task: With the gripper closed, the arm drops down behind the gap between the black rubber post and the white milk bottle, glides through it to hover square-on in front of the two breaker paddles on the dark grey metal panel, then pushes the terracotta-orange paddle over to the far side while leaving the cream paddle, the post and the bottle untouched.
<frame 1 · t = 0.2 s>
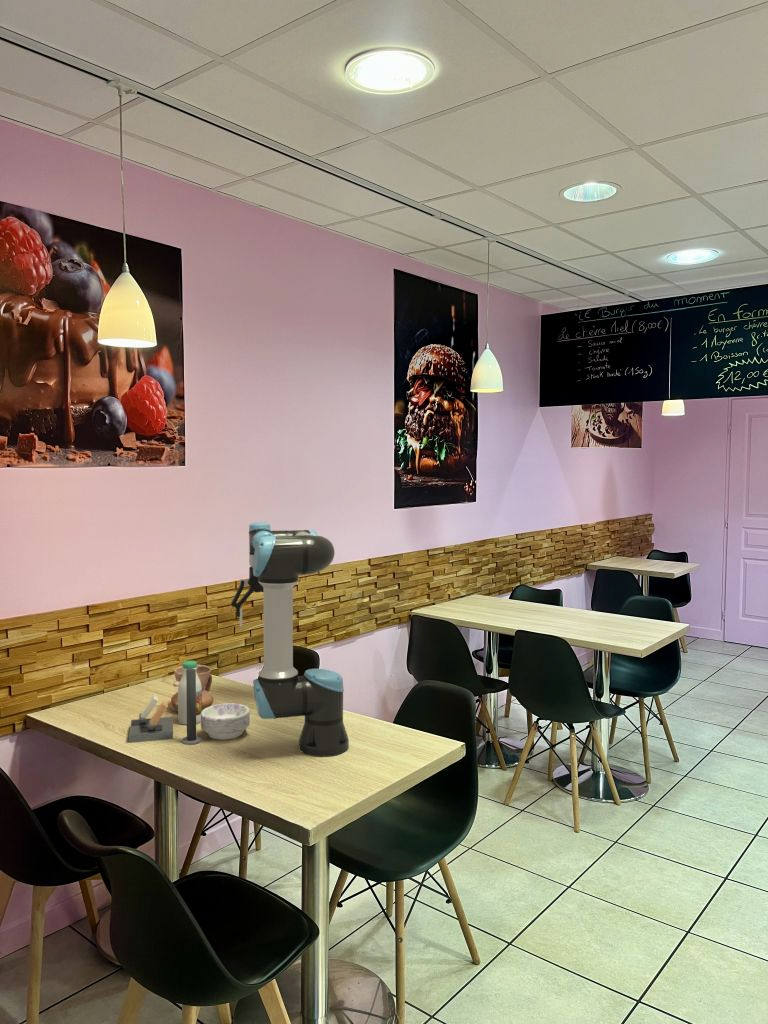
hand: (260, 625, 271), 28 cm above the table, fingers open, 13 cm apart
panel: (151, 732, 241), on the table
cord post: (191, 741, 234), on the table
milk bottle: (190, 722, 252), on the table
paddle b: (148, 709, 244), point 6 cm above the table, hinge at 35.0°
paddle a: (157, 715, 238), point 6 cm above the table, hinge at 35.0°
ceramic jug: (193, 708, 265), on the table
paper bowls: (225, 735, 240), on the table
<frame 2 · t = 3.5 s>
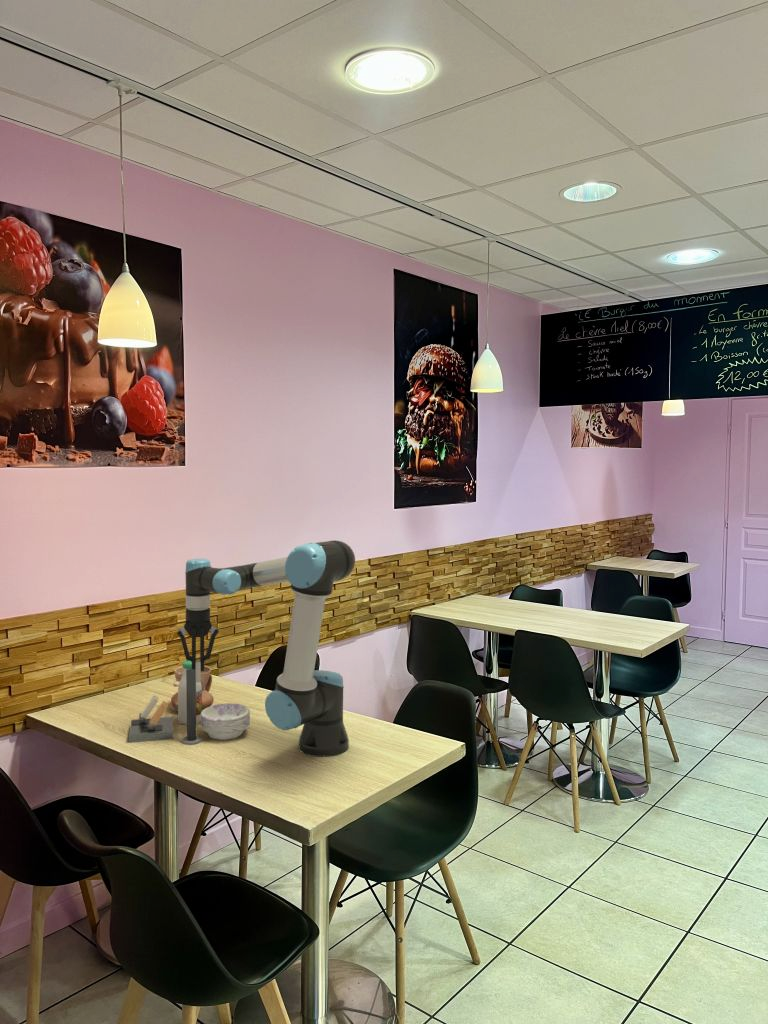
hand: (197, 681, 241), 16 cm above the table, fingers closed
nothing on the table moved.
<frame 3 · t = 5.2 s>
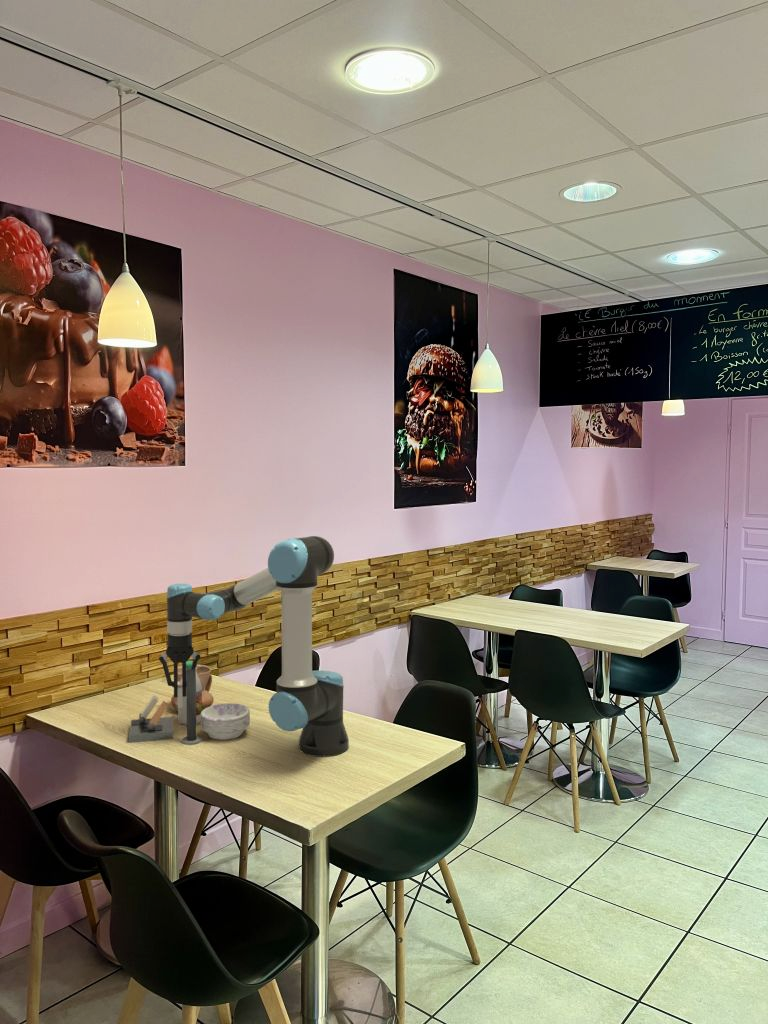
hand: (180, 706, 240), 9 cm above the table, fingers closed
nothing on the table moved.
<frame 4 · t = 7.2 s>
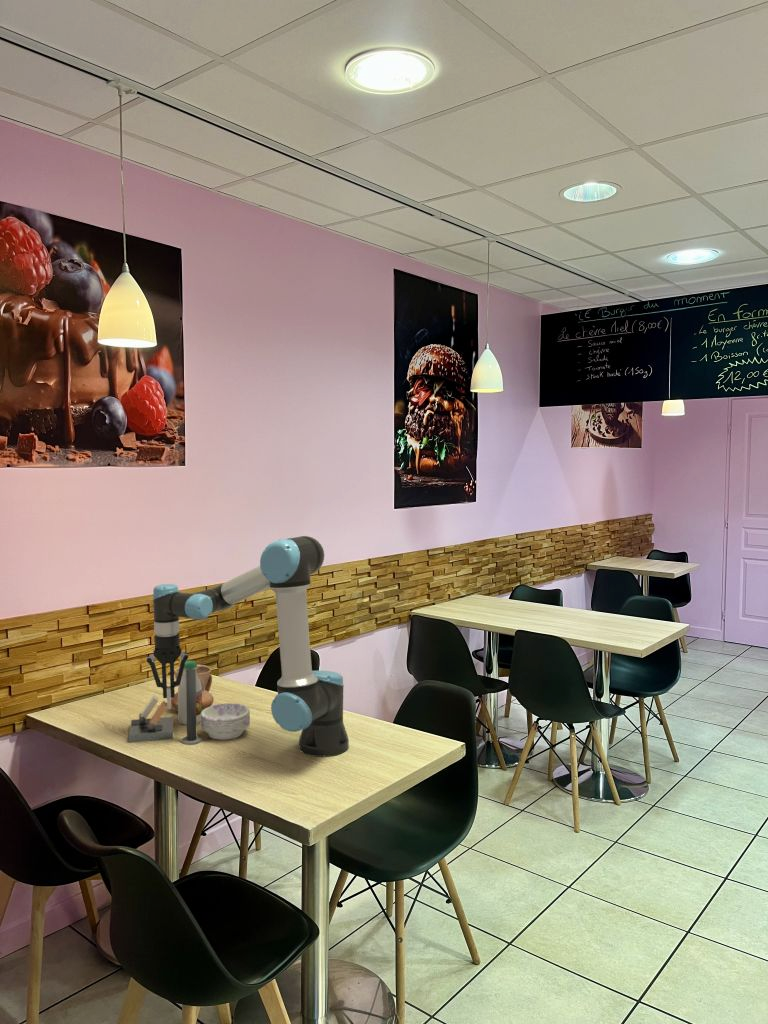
hand: (169, 707, 239), 9 cm above the table, fingers closed
paddle a: (157, 715, 238), point 6 cm above the table, hinge at 34.3°, touching gripper
everything else where it was.
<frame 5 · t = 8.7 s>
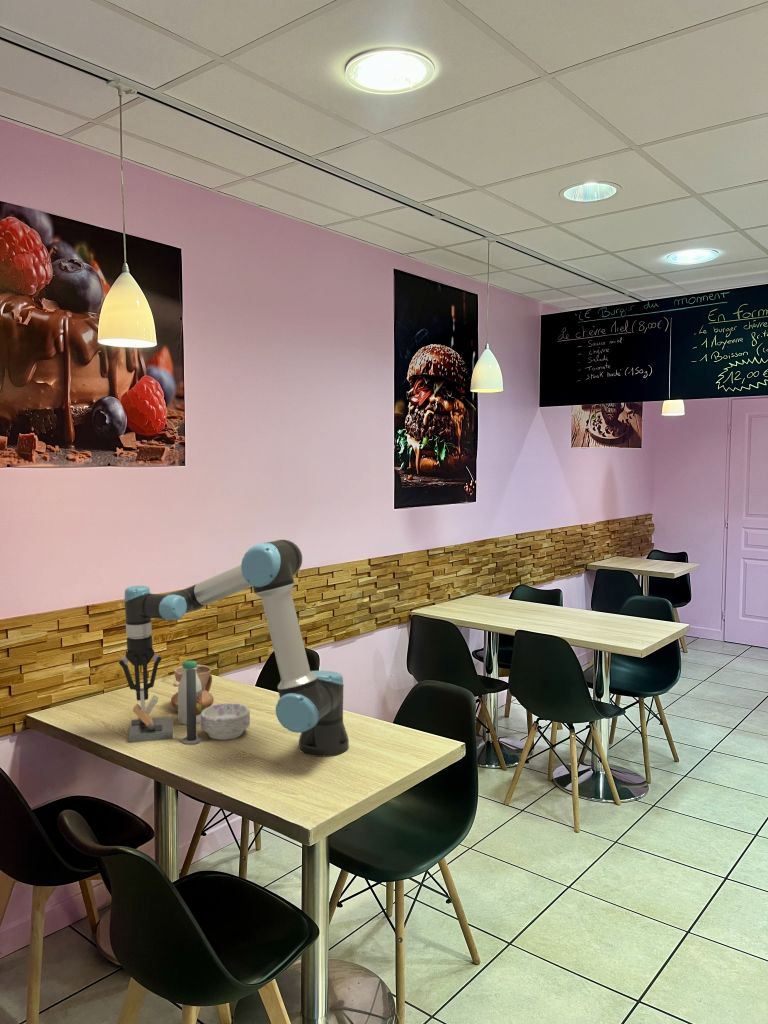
hand: (143, 709, 237), 8 cm above the table, fingers closed
paddle a: (144, 717, 237), point 6 cm above the table, hinge at -39.3°, touching gripper
everything else where it was.
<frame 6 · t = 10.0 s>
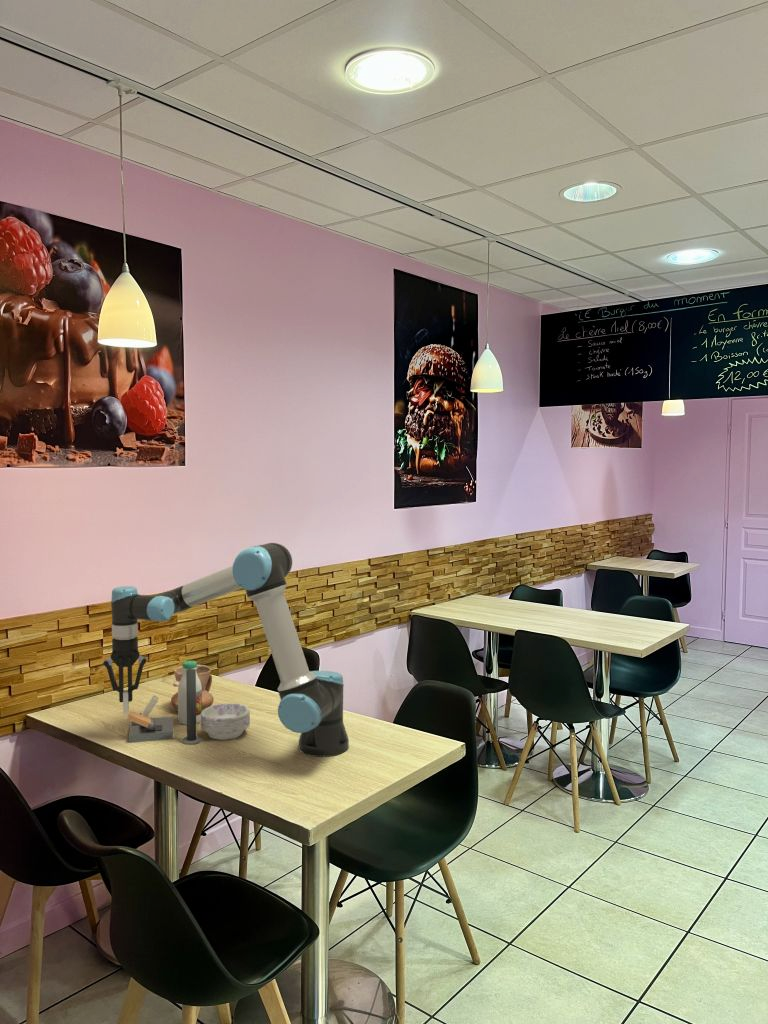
hand: (126, 711, 235), 8 cm above the table, fingers closed
paddle a: (141, 720, 237), point 5 cm above the table, hinge at -62.3°
everything else where it was.
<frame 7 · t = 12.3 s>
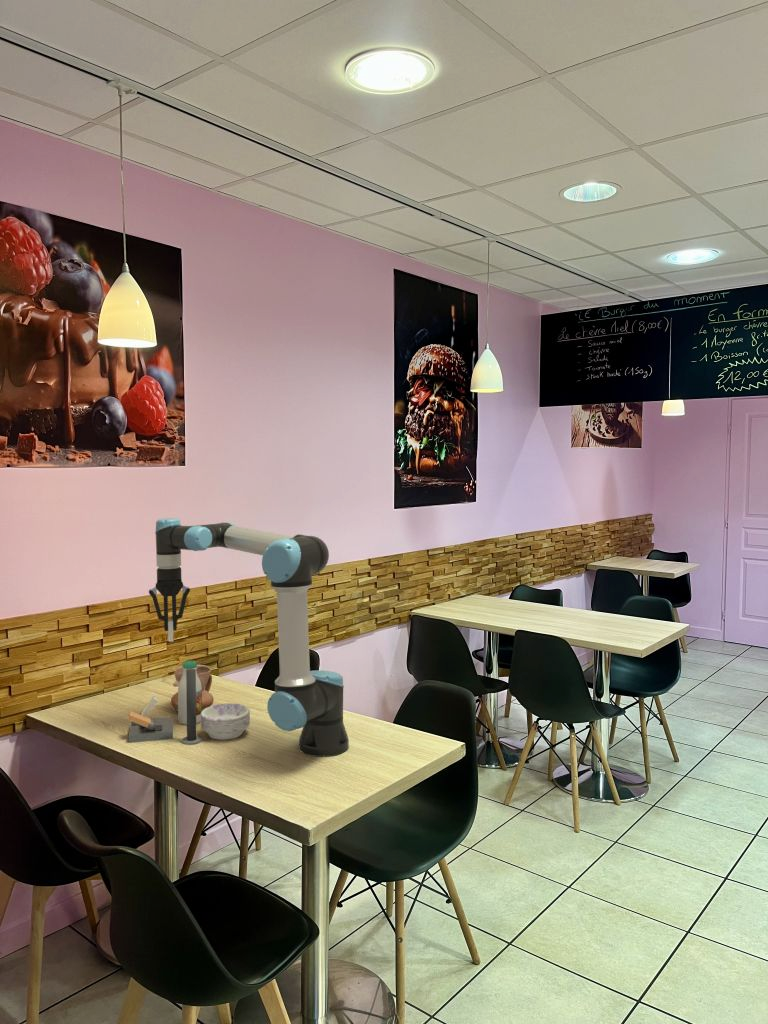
hand: (170, 640, 242), 29 cm above the table, fingers closed
paddle a: (141, 720, 237), point 5 cm above the table, hinge at -62.6°
everything else where it was.
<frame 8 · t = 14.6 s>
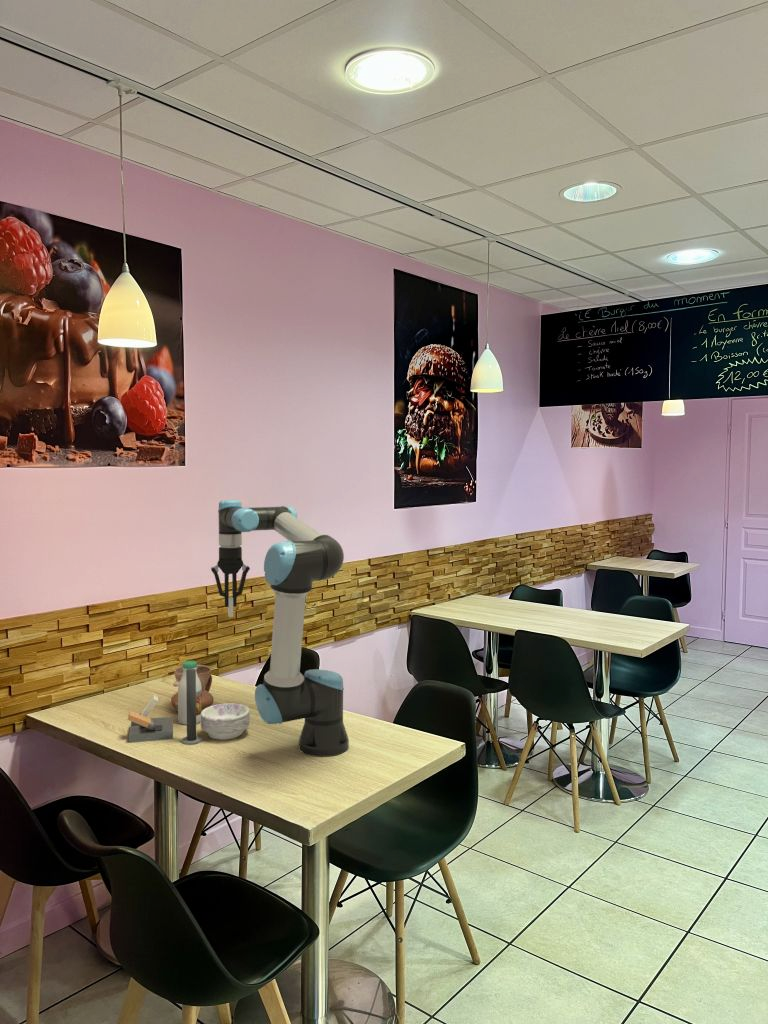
hand: (230, 616, 255), 34 cm above the table, fingers closed
nothing on the table moved.
at the end: paddle a at -63° (first picture: +35°); paddle b at +35° (first picture: +35°); milk bottle moved 0.2 cm from its start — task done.
